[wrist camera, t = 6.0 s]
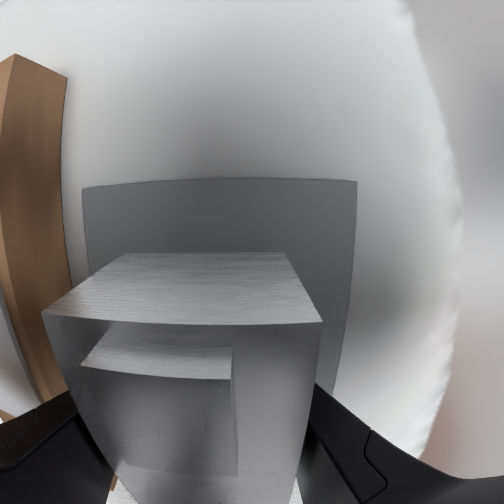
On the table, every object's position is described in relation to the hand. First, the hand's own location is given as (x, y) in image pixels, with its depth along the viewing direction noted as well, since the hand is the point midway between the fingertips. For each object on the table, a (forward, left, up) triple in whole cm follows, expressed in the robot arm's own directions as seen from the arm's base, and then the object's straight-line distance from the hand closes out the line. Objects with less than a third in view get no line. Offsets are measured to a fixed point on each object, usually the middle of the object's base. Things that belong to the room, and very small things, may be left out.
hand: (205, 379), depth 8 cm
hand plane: (0, +10, -4) cm, 11 cm away
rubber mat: (0, 0, -4) cm, 4 cm away
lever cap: (0, 0, -1) cm, 1 cm away
